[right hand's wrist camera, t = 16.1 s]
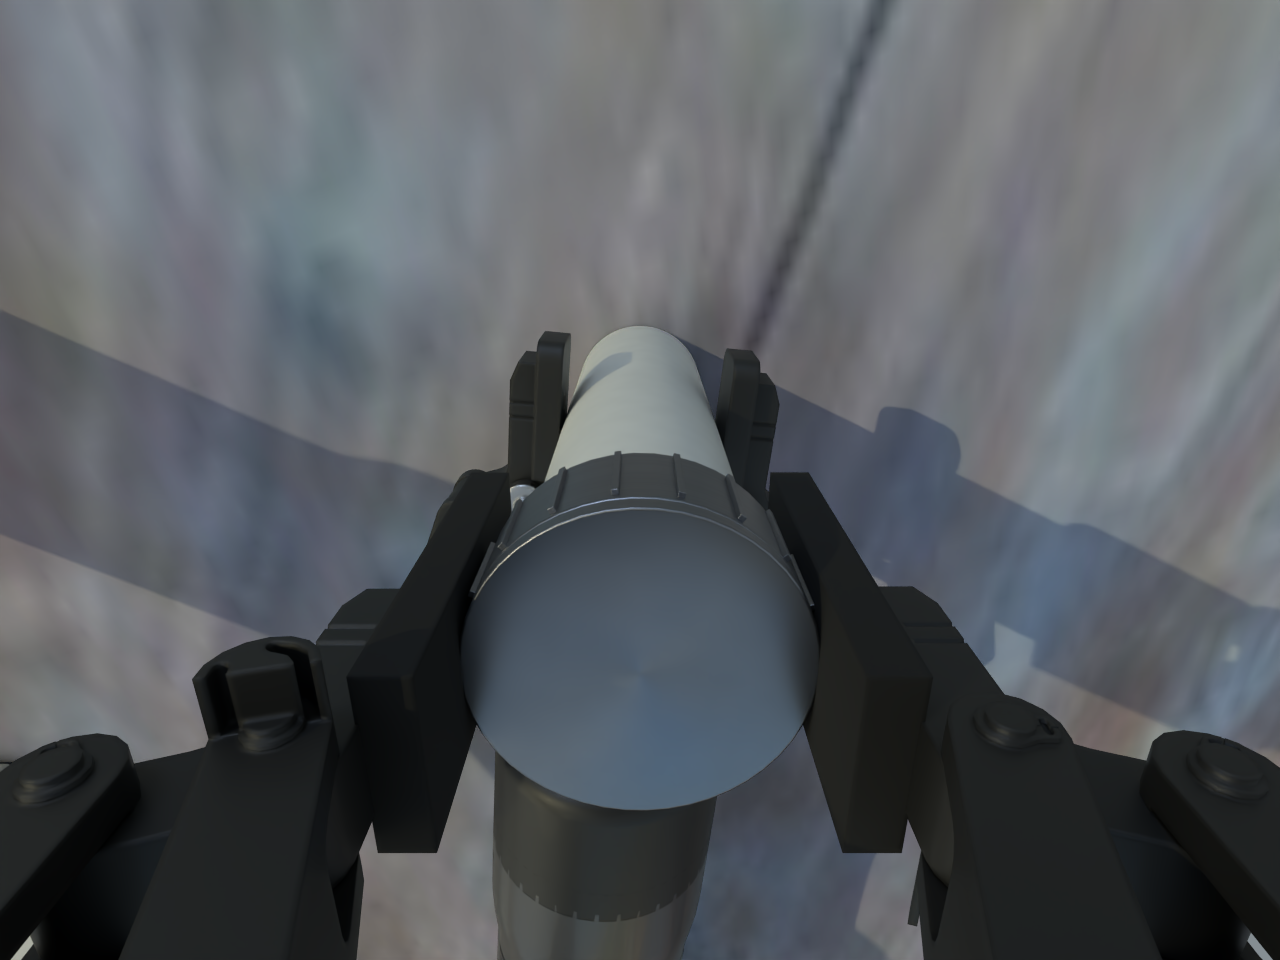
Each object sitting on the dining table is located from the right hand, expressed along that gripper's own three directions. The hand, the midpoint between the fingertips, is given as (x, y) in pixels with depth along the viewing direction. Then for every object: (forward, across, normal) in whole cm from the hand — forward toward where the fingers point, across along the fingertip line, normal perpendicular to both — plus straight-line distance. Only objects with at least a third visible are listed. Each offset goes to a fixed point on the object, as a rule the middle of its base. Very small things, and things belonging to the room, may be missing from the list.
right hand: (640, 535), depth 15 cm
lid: (-4, 0, 0) cm, 4 cm away
